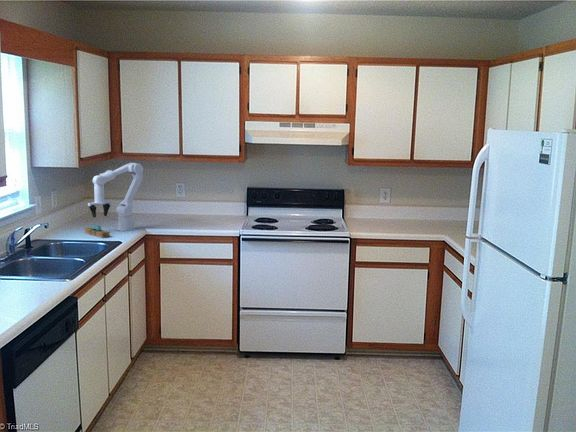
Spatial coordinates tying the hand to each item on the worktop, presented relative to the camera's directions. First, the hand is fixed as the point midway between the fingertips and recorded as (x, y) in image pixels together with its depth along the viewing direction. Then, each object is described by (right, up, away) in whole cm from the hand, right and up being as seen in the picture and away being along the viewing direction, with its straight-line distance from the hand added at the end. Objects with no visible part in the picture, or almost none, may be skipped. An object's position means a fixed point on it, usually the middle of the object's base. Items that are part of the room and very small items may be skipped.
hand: (99, 216), depth 325 cm
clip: (+1, -11, -7) cm, 13 cm away
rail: (+1, -11, -7) cm, 13 cm away
